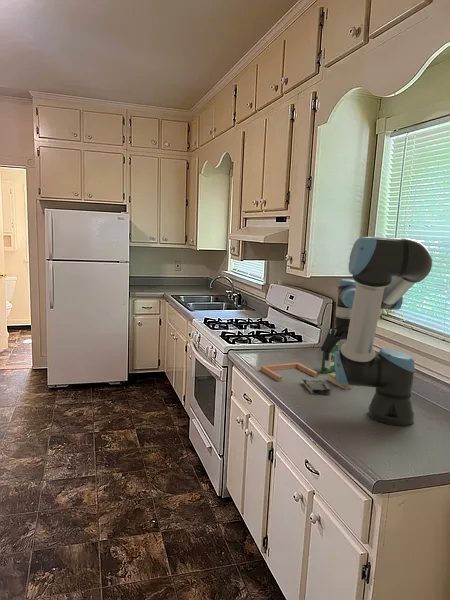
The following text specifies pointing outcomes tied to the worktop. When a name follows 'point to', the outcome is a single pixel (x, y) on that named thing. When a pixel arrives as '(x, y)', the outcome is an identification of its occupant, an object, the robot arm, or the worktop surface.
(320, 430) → the worktop surface
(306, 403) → the worktop surface
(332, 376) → the wooden scraper
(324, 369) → the coffee box
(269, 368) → the tile bay
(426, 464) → the worktop surface
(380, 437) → the worktop surface
